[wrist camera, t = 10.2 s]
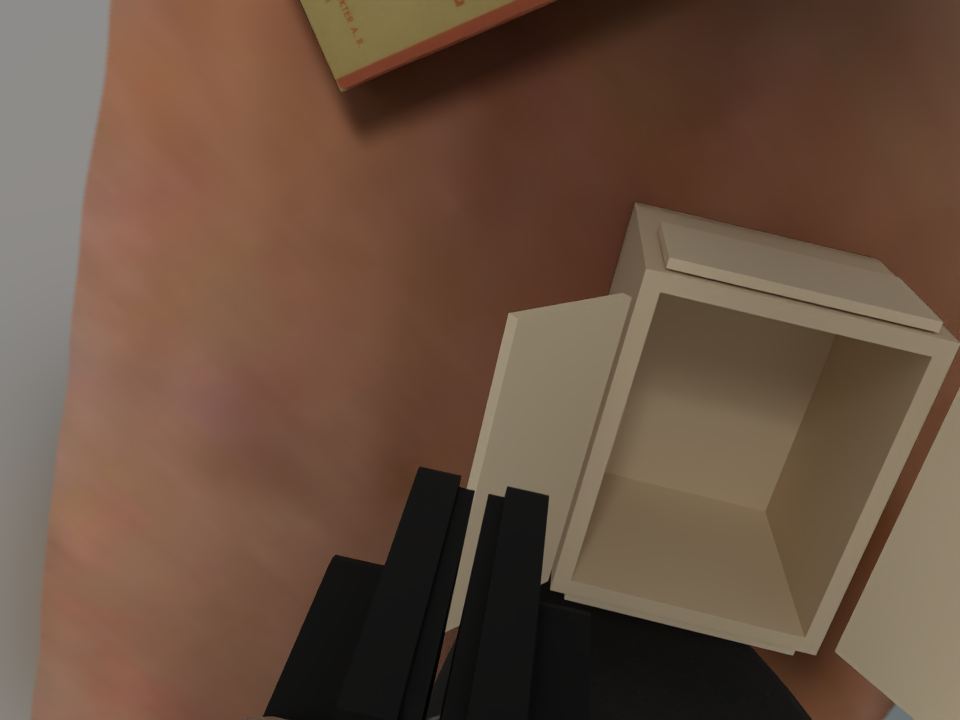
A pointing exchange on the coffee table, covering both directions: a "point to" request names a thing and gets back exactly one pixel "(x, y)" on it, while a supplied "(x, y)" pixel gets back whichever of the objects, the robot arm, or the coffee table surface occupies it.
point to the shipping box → (746, 430)
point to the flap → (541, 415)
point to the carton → (399, 31)
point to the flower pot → (665, 673)
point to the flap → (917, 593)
